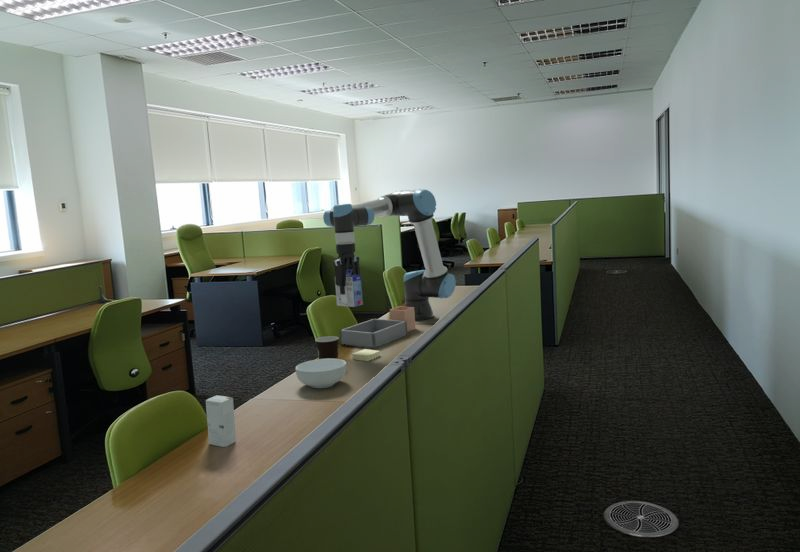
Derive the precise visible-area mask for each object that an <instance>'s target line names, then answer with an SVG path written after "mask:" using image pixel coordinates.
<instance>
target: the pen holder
mask: <svg viewBox="0 0 800 552" xmlns="http://www.w3.org/2000/svg"><path fill="white" fill-rule="evenodd" d="M389 320H396V321H407V333H408V332H411V331H413V330H417V329H416V320H415V312H414V307H404V306H402V305H399V306H397V307H394V308H391V309H389Z"/></svg>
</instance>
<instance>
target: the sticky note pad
mask: <svg viewBox="0 0 800 552" xmlns="http://www.w3.org/2000/svg"><path fill="white" fill-rule="evenodd" d="M351 355H352V356H351V357H352V359H353V360H357V361H363V360H364V361H365V362H369V360H370V361H372V360H375V359H377V358H379V357H378V356H380V357H381V350H374V349H369V348H363V349H361V350H358V351H355V352H353V353H352V354H351ZM376 357H377V358H376ZM374 358H375V359H374ZM371 359H372V360H371Z"/></svg>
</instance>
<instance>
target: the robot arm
mask: <svg viewBox="0 0 800 552" xmlns="http://www.w3.org/2000/svg"><path fill="white" fill-rule="evenodd" d="M436 206H437V201H436V197H435V195H434V194H433V192H431V191H430V190H428V189H421V188H419V189H417V188H416V189H411V190H410V189H409V190H408V189H407V190H406V189H405V190H399V191H394V192H391V193H388V194H384V195H381V196H379V197H378V198H377V199H373V200H368V201H364V202H360V203H356V204H352V203H340V204H334V205H333V207H332V208H329V209H326V210H325V211H324V213H323V216H322V218H323V223H324V224H325V225H326V226H327V227H333V228H334V233H335V234H334V235H335V237H334V238H335V252H336V254H338V256H337V259H335V260H333V262H332V263H333V266H334V283H335V282H336V285H337V286H340V294H341V300H342V302H344V303H347V302H348V294H347V286H345V283H346V273H350V272H351V271H347V269H353V271H352V275H361V273H360V272H361V271H360V257H359V256H355V253H356V243H355V242H356V240H355V239H356V238H355V228H356V227H364V226H365V227H366V226H370V225H371V224H373V223H374V220H375V218H377V217H385V218H386V217H391V216H394V217H397V216H398V217H407V218H408V222H409V223H410V224H412V225H413V229H414V231H415V236H416V239H417V243H418V247H419V251H420V254H421V258H422V261H423V265H424V268H425V269H421V270H414V271H409V272H406V273H404V274H403V289H404V290H403V291H404V300H405V301H404V302H405V303H404V306H403V307H414V312H415V321H422V320H428V319H432V318H434V311H433V309H432V306H431V303H430V300H429V298H432V299H433V298H435V299H449V298H450V297H452V295H453V293H454V292H455V288H456V278H455V277H456V276H455V275H454V274H452V273H449V270H448V268H447V266H444V264H443V259H442V255H441V251H440V248H439V243H438V241H437V236H436V231H435V229H434V225H433V221H432V219H433V218H434V214H435V211H436V210H437V207H436Z"/></svg>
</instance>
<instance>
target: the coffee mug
mask: <svg viewBox="0 0 800 552" xmlns="http://www.w3.org/2000/svg"><path fill="white" fill-rule="evenodd" d="M314 341H315V345H316V346H315V347H316V350H317V355H318V359H327V358H333V359H339V341H340V337H338V336H334V335H332V336H328V335H327V336H321V337H318V338H316V339H315V340H314Z"/></svg>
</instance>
